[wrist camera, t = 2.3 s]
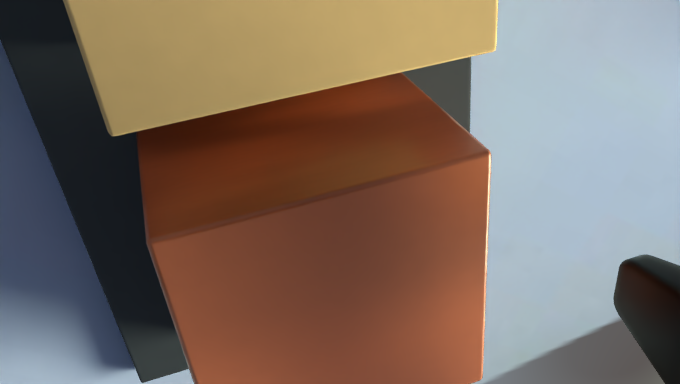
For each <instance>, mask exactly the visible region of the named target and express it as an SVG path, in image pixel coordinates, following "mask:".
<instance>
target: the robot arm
mask: <svg viewBox="0 0 680 384" xmlns="http://www.w3.org/2000/svg"><path fill="white" fill-rule="evenodd" d="M614 305H615V308H616V310H617V312H618V314H619V316H620V317H621V319H622V320H623V322H624V323H625V325H626V326H627V328H628V329H629V331H630V332H631V334H632V335H633V337H634V338H635V340H636V341H637V343H638V344H639V346H640V347H641V348H642V350H643V351H644V353H645V354H646V356H647V357H648V359H649V360H650V362H651V363H652V365H653V366H654V368H655V369H656V371H657V372H658V374H659V375H660V377H661V378H662V380H663V381H664V383H665V384H680V266H679V265H676V264H673V263H670V262H668V261H665V260H662V259H659V258H656V257H654V256H650V255H640V256H637V257H634V258H630V259H627V260H625V261H623V262H622V263H621V265H620V267H619V271H618V276H617V282H616V287H615V292H614Z"/></svg>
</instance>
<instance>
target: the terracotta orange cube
mask: <svg viewBox="0 0 680 384" xmlns="http://www.w3.org/2000/svg"><path fill="white" fill-rule="evenodd" d="M136 139H137V150H138V161H139V171H140V182H141V193H142V203H143V214H144V225H145V235H146V244H147V247H148V250H149V253H150V256H151V259H152V262H153V265H154V268H155V271H156V274H157V276H158V279H159V282H160V285H161V288H162V291H163V294H164V297H165V300H166V303H167V306H168V309H169V312H170V315H171V317H172V320H173V323H174V326H175V329H176V332H177V335H178V338H179V341H180V344H181V347H182V350H183V353H184V356H185V359H186V361H187V364H188V367H189V370H190V373H191V376H192V379H193V382H194V384H471V383H474V382H477V381H480V380H481V379H482V377H483V352H484V327H485V302H486V276H487V251H488V226H489V200H490V175H491V153H490V151H489V150H488V149H487V148H486V147H485V146H484V145H483V144H481V143H480V142H479V141H478V140H477V139H476V138H475V137H474V136H472V135H471V134H470V133H469V132H468V131H467V130H466V129H465V128H463V127H462V126H461V125H460V124H459V123H458V122H457V121H456V120H454V119H453V118H452V117H451V116H450V115H449V114H448V113H447V112H445V111H444V110H443V109H442V108H441V107H440V106H439V105H438V104H436V103H435V102H434V101H433V100H432V99H431V98H430V97H429V96H427V95H426V94H425V93H424V92H423V91H422V90H421V89H420V88H418V87H417V86H416V85H415V84H414V83H413V82H412V81H410V80H409V79H408V78H407V77H406V76H405V75H404V74H403V73H401V72H400V73H395V74H391V75H386V76H382V77H378V78H373V79H369V80H364V81H360V82H355V83H351V84H346V85H342V86H337V87H333V88H328V89H324V90H319V91H315V92H311V93H306V94H302V95H297V96H293V97H288V98H284V99H279V100H275V101H270V102H266V103H261V104H257V105H252V106H248V107H243V108H239V109H235V110H230V111H226V112H221V113H217V114H212V115H208V116H203V117H199V118H194V119H190V120H185V121H181V122H176V123H172V124H168V125H163V126H159V127H154V128H150V129H145V130H141V131H137V133H136Z"/></svg>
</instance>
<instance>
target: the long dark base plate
mask: <svg viewBox="0 0 680 384" xmlns="http://www.w3.org/2000/svg"><path fill="white" fill-rule="evenodd" d="M497 16H498V0H0V40H1V42H2V45H3V47H4V49H5V52H6V54H7V57H8V59H9V62H10V64H11V67H12V69H13V71H14V74H15V76H16V79H17V81H18V84H19V86H20V88H21V91H22V93H23V96H24V98H25V101H26V103H27V105H28V108H29V110H30V113H31V115H32V118H33V120H34V123H35V125H36V127H37V130H38V132H39V135H40V137H41V140H42V142H43V144H44V147H45V149H46V152H47V154H48V157H49V159H50V162H51V164H52V166H53V169H54V171H55V174H56V176H57V179H58V181H59V183H60V186H61V188H62V191H63V193H64V196H65V198H66V200H67V203H68V205H69V208H70V210H71V213H72V215H73V218H74V220H75V222H76V225H77V227H78V230H79V232H80V235H81V237H82V239H83V242H84V244H85V247H86V249H87V252H88V254H89V257H90V259H91V261H92V264H93V266H94V269H95V271H96V274H97V276H98V278H99V281H100V283H101V286H102V288H103V291H104V293H105V296H106V298H107V300H108V303H109V305H110V308H111V310H112V313H113V315H114V317H115V320H116V322H117V325H118V327H119V330H120V332H121V334H122V337H123V339H124V342H125V344H126V347H127V349H128V352H129V354H130V356H131V359H132V361H133V364H134V366H135V369H136V371H137V373H138V376H139V378H140V381H141V382H142V383H144V382H147V381H150V380H153V379H157V378H160V377H163V376H166V375H170V374H173V373H176V372H180V371H183V370H186V369H189V367H188V364H187V361H186V359H185V356H184V353H183V350H182V347H181V344H180V341H179V338H178V335H177V332H176V329H175V326H174V323H173V320H172V317H171V315H170V312H169V309H168V306H167V303H166V300H165V297H164V294H163V291H162V288H161V285H160V282H159V279H158V276H157V274H156V271H155V268H154V265H153V262H152V259H151V256H150V253H149V250H148V247H147V244H146V235H145V225H144V214H143V203H142V193H141V182H140V171H139V161H138V150H137V139H136V133H137V131H141V130H145V129H150V128H154V127H159V126H163V125H168V124H172V123H176V122H181V121H185V120H190V119H194V118H199V117H203V116H208V115H212V114H217V113H221V112H226V111H230V110H235V109H239V108H243V107H248V106H252V105H257V104H261V103H266V102H270V101H275V100H279V99H284V98H288V97H293V96H297V95H302V94H306V93H311V92H315V91H319V90H324V89H328V88H333V87H337V86H342V85H346V84H351V83H355V82H360V81H364V80H369V79H373V78H378V77H382V76H386V75H391V74H395V73H400V72H401V73H403V74H404V75H405V76H406V77H407V78H408V79H409V80H410V81H412V82H413V83H414V84H415V85H416V86H417V87H418V88H420V89H421V90H422V91H423V92H424V93H425V94H426V95H427V96H429V97H430V98H431V99H432V100H433V101H434V102H435V103H436V104H438V105H439V106H440V107H441V108H442V109H443V110H444V111H445V112H447V113H448V114H449V115H450V116H451V117H452V118H453V119H454V120H456V121H457V122H458V123H459V124H460V125H461V126H462V127H463V128H465V129H466V130H467V131H468V132H469V133H470V90H471V56H476V55H480V54H485V53H489V52H493V51H495V50H496V41H497Z"/></svg>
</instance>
